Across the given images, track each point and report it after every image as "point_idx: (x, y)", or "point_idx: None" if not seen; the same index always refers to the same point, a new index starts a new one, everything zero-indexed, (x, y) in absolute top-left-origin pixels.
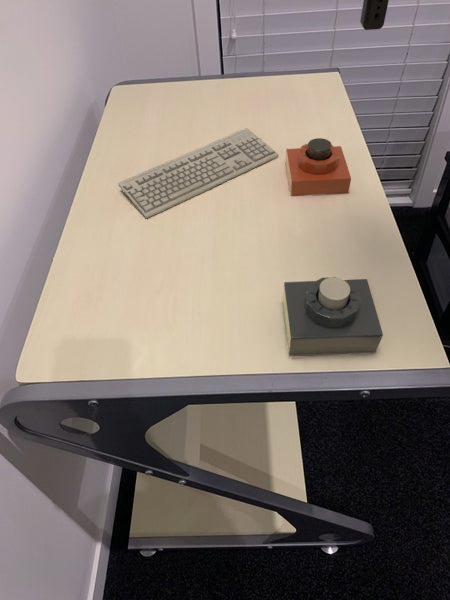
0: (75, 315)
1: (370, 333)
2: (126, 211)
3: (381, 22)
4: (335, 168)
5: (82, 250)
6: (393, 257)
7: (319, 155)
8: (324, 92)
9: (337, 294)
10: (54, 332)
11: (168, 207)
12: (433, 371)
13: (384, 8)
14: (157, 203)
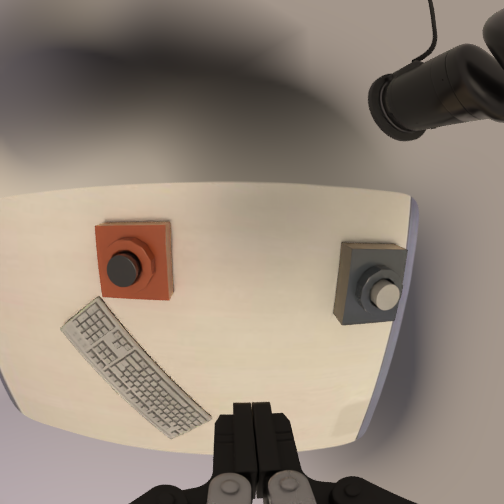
0: (313, 436)
1: (405, 259)
2: (200, 429)
3: (287, 418)
4: (142, 241)
5: None
6: (291, 194)
7: (138, 271)
8: None
9: (394, 296)
10: (324, 441)
11: (196, 404)
12: (412, 204)
13: (293, 441)
14: (195, 414)
